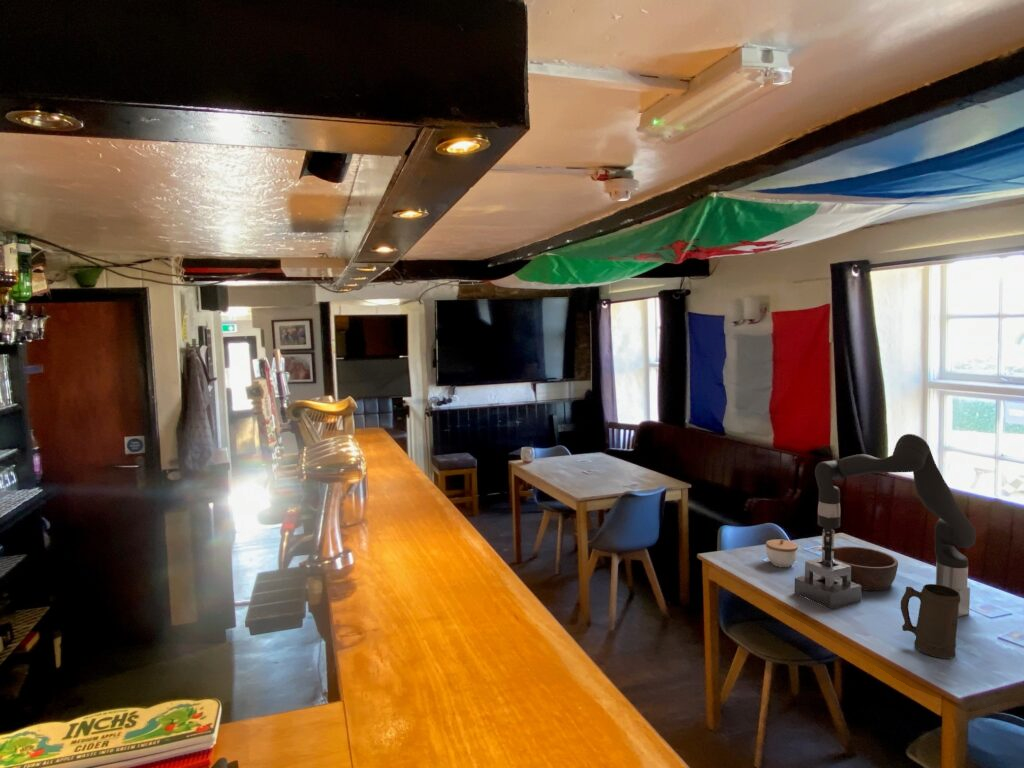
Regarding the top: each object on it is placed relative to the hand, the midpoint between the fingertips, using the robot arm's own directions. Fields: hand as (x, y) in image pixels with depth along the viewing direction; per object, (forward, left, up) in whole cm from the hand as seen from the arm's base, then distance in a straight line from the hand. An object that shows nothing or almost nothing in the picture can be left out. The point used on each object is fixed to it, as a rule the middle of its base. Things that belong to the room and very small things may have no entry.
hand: (828, 558), depth 234 cm
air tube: (0, 0, -4) cm, 4 cm away
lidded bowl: (+32, -11, -15) cm, 37 cm away
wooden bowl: (+5, -25, -16) cm, 30 cm away
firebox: (0, 0, -15) cm, 15 cm away
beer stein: (-41, +5, -15) cm, 44 cm away
